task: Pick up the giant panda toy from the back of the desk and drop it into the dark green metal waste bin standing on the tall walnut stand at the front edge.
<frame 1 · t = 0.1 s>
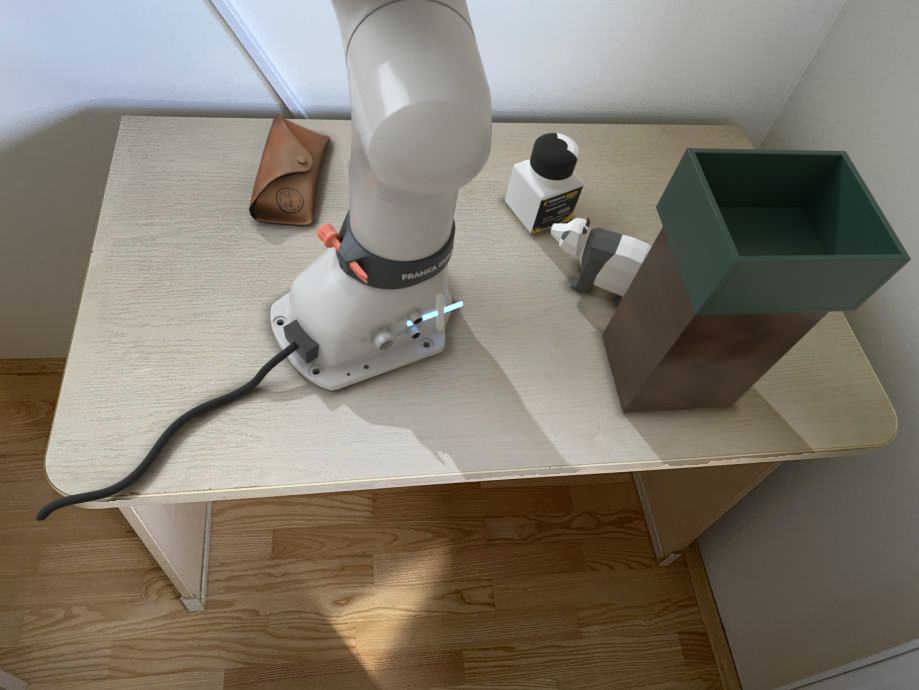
medicine bottle: (537, 211, 95), on the table
sunglasses case: (292, 177, 92), on the table
giant panda: (593, 283, 89), on the table
stand: (664, 370, 82), on the table
bin: (752, 257, 64), resting on stand
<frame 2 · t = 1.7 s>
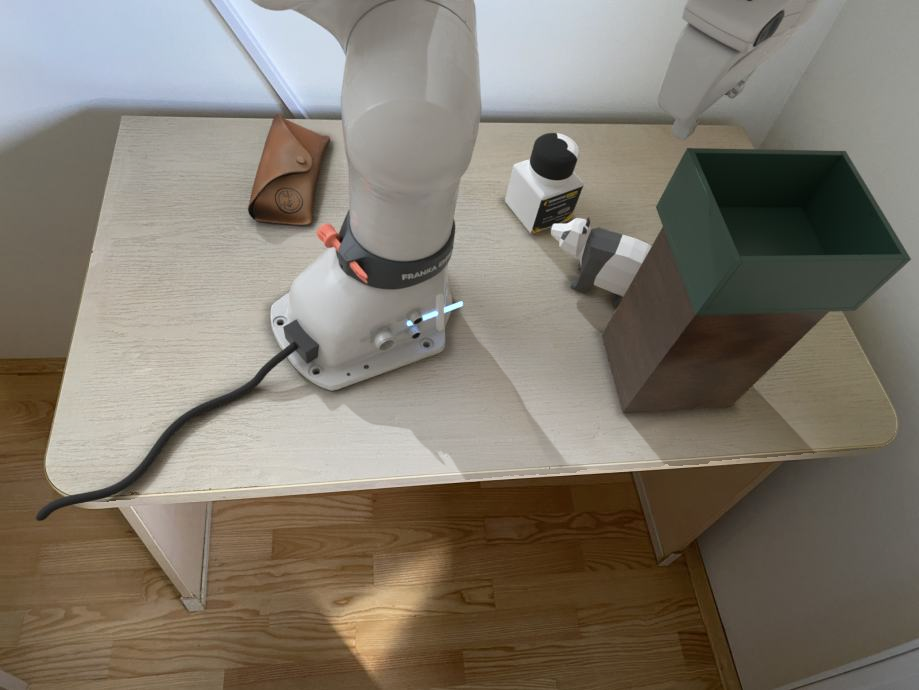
hand: (706, 113, 68), 27 cm above the table, tool pointing down, fingers open, 8 cm apart
nothing on the table moved.
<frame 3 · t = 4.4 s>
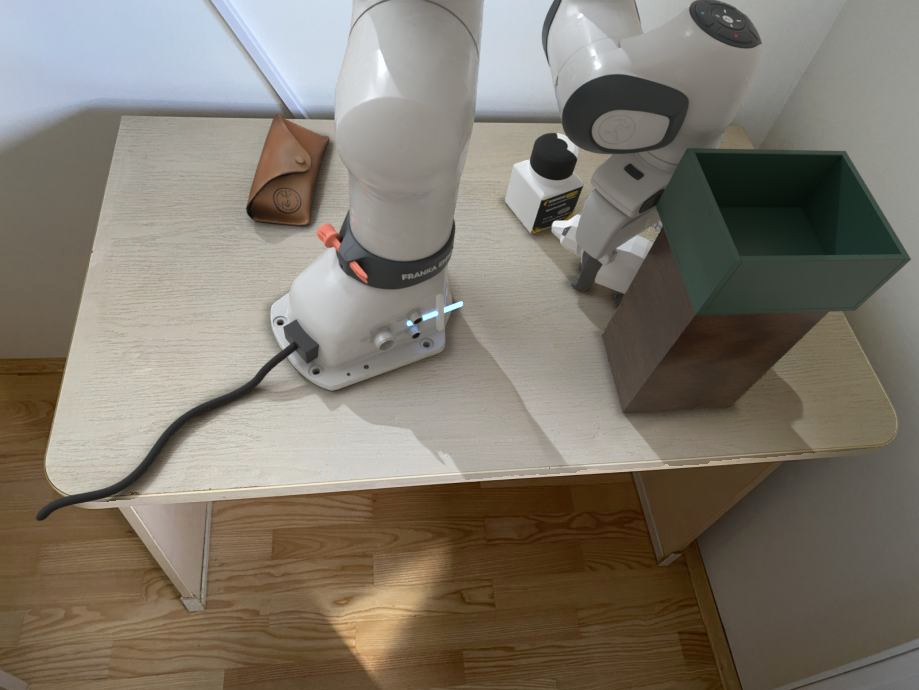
hand: (631, 242, 83), 8 cm above the table, tool pointing down, fingers open, 8 cm apart
giant panda: (594, 282, 89), on the table, touching gripper
everything else where it was.
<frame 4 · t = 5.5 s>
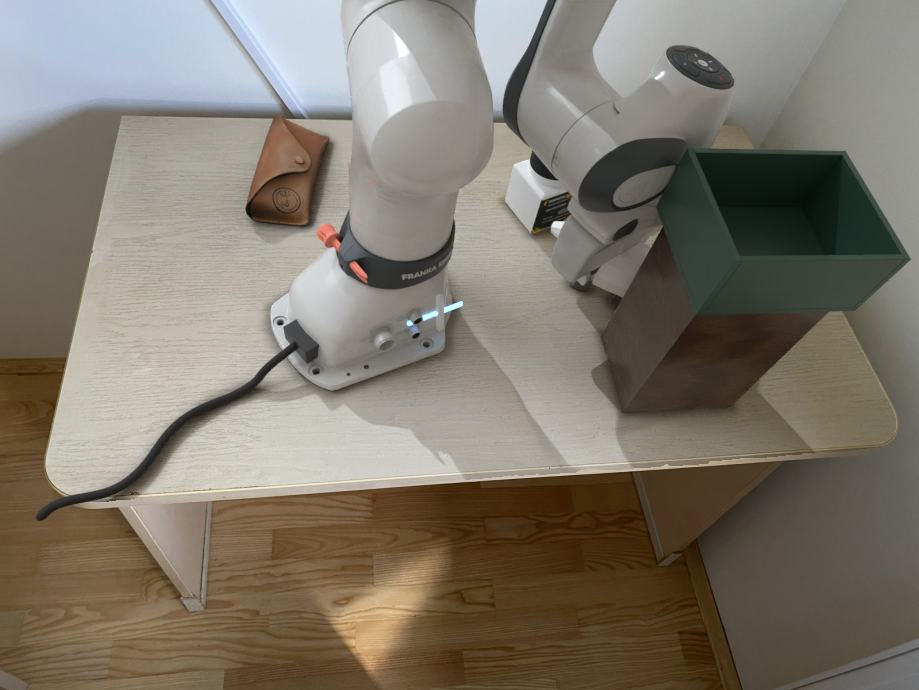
hand: (605, 266, 86), 4 cm above the table, tool pointing down, fingers closed on giant panda, 7 cm apart
giant panda: (593, 283, 89), on the table, touching gripper
everything else where it was.
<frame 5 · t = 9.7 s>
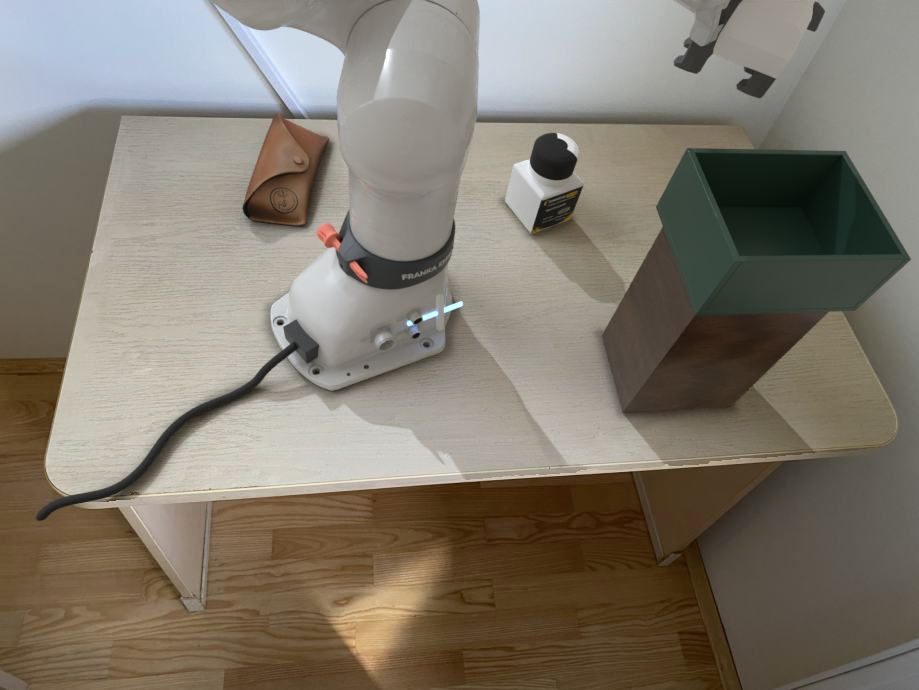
hand: (730, 27, 57), 37 cm above the table, tool pointing down, fingers closed on giant panda, 7 cm apart
giant panda: (707, 65, 60), point 34 cm above the table, touching gripper
everything else where it was.
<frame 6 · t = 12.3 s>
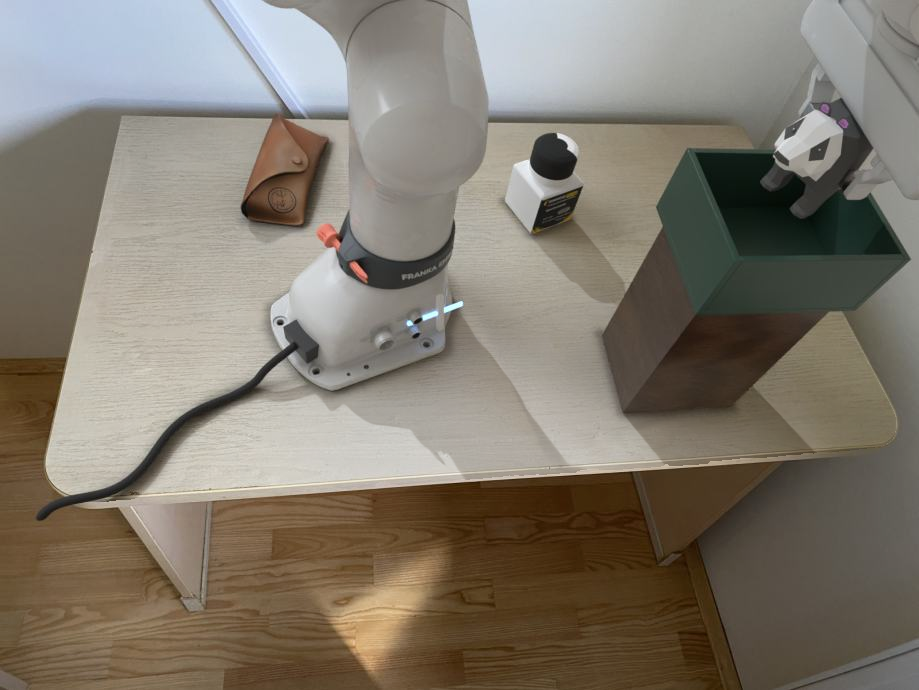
hand: (828, 156, 53), 35 cm above the table, tool pointing down, fingers closed on giant panda, 7 cm apart
giant panda: (798, 192, 57), point 31 cm above the table, touching gripper
everything else where it was.
when the fingers open (30 cm above the table, at t = 14.2 s): giant panda drops 4 cm, resting on bin.
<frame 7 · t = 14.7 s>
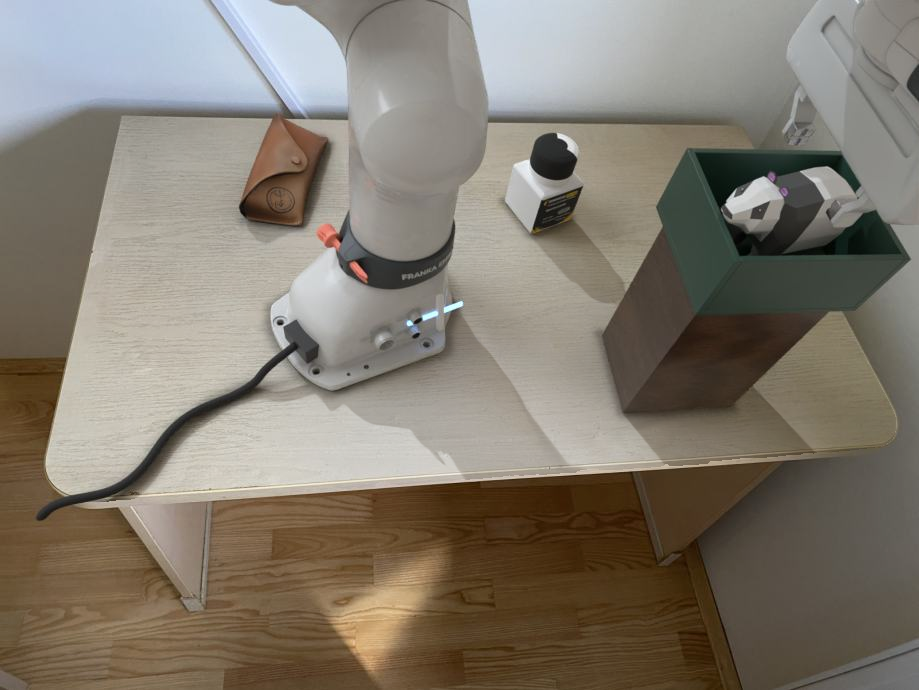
hand: (813, 178, 55), 32 cm above the table, tool pointing down, fingers open, 8 cm apart
giant panda: (749, 252, 63), point 23 cm above the table, touching bin
everything else where it was.
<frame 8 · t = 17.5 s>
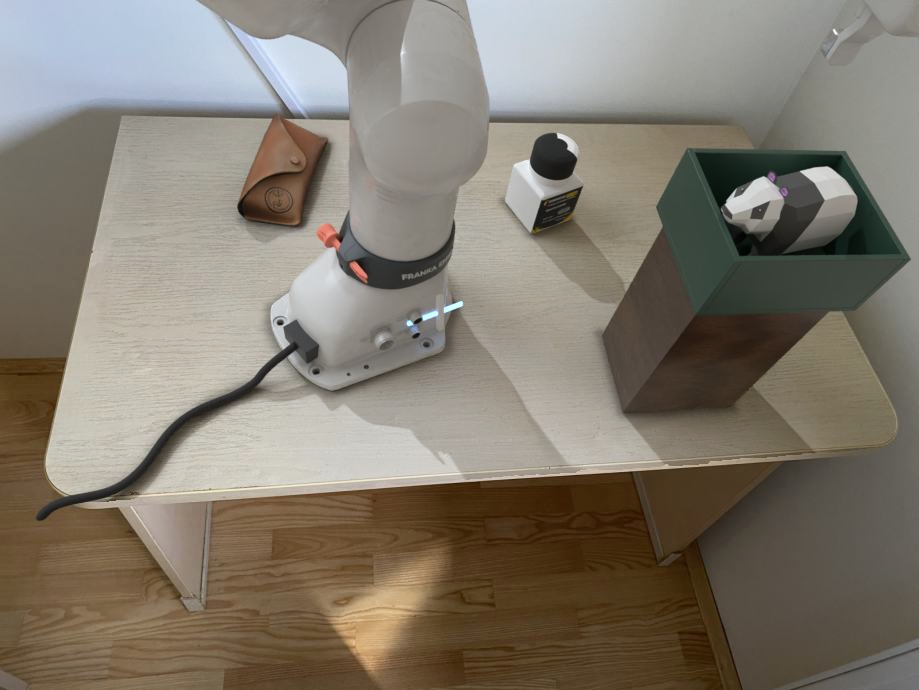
hand: (806, 18, 48), 43 cm above the table, tool pointing down, fingers open, 8 cm apart
nothing on the table moved.
at the end: giant panda inside the target area on the bin (0.9 cm from its centre), point 1.0 cm above the bin's base; the gripper is holding nothing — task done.
